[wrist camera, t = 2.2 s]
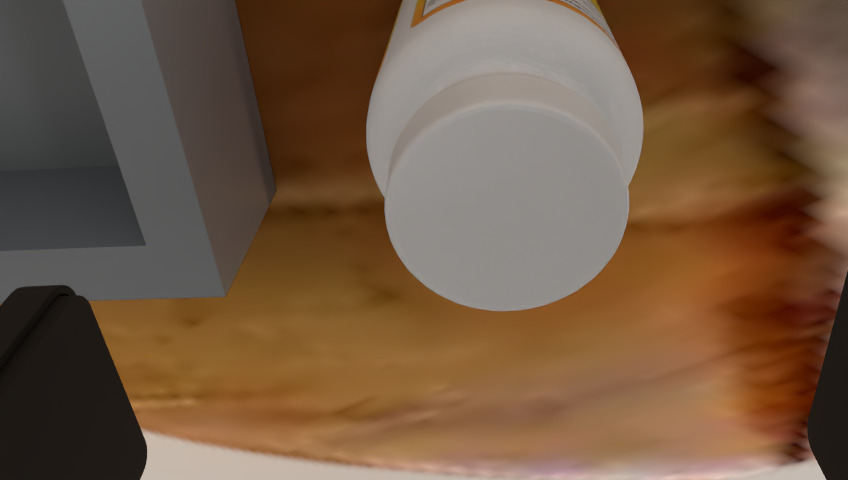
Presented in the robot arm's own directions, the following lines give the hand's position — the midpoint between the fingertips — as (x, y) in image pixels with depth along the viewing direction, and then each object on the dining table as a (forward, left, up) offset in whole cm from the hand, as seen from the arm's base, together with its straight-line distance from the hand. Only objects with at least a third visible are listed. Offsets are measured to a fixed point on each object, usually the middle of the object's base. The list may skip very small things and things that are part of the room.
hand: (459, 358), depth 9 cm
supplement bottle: (-1, 0, -13) cm, 13 cm away
